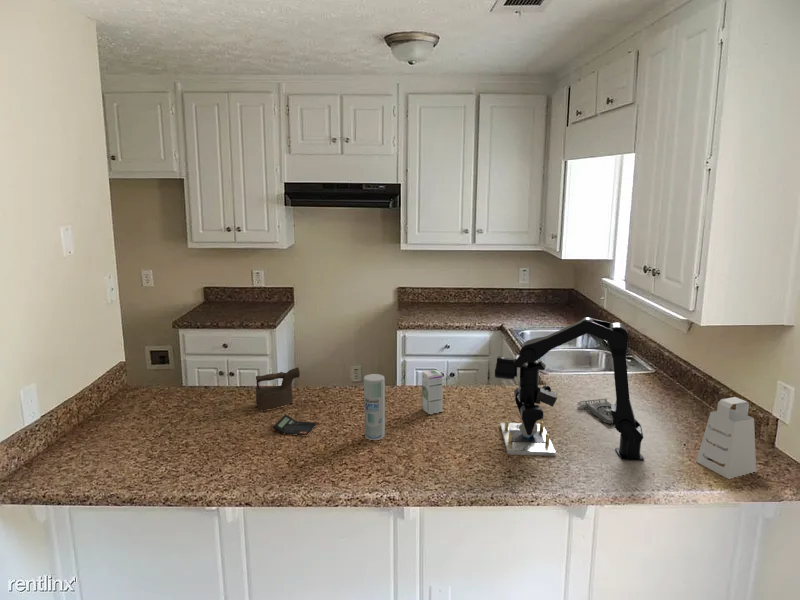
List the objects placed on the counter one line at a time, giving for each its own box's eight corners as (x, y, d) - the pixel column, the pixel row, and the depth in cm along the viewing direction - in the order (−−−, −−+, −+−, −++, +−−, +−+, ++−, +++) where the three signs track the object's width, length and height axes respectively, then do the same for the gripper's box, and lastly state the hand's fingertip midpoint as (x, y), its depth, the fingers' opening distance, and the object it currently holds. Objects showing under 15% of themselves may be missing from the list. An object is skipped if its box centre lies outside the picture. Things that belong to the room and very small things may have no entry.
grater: (695, 461, 155) (703, 396, 151) (722, 455, 159) (730, 391, 155) (729, 479, 146) (738, 410, 142) (756, 472, 149) (765, 404, 145)
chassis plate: (555, 455, 159) (556, 442, 158) (507, 454, 160) (508, 441, 159) (542, 427, 178) (543, 415, 177) (500, 425, 179) (500, 414, 178)
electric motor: (513, 436, 169) (514, 421, 168) (521, 431, 172) (521, 416, 171) (533, 442, 164) (534, 427, 163) (540, 437, 168) (541, 422, 167)
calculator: (306, 437, 172) (306, 428, 171) (272, 434, 174) (272, 425, 173) (316, 425, 181) (316, 416, 180) (284, 422, 183) (284, 414, 182)
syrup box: (443, 412, 190) (443, 373, 187) (427, 415, 188) (428, 375, 185) (436, 406, 195) (436, 368, 192) (421, 409, 193) (421, 370, 190)
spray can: (387, 433, 174) (387, 374, 170) (381, 442, 167) (380, 381, 164) (368, 431, 175) (367, 373, 171) (361, 439, 169) (360, 379, 165)
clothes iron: (302, 405, 197) (301, 370, 194) (258, 412, 191) (256, 376, 188) (297, 398, 204) (296, 364, 201) (255, 404, 198) (253, 369, 195)
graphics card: (576, 400, 194) (606, 397, 196) (575, 409, 194) (606, 406, 196) (601, 419, 177) (634, 416, 180) (600, 430, 178) (633, 426, 180)
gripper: (562, 393, 155) (559, 442, 158) (549, 372, 174) (547, 417, 177) (523, 392, 156) (521, 441, 159) (514, 371, 174) (512, 416, 178)
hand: (526, 428), depth 168 cm, fingers open, 9 cm apart
